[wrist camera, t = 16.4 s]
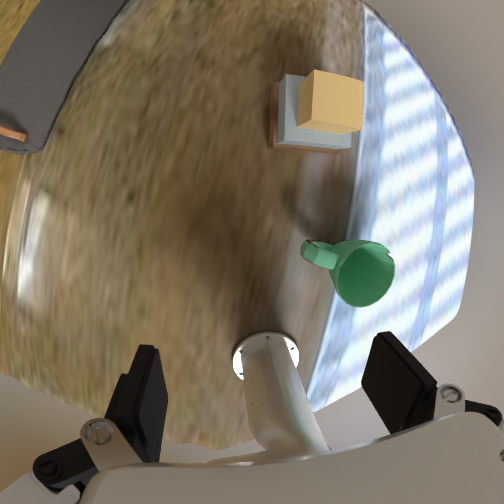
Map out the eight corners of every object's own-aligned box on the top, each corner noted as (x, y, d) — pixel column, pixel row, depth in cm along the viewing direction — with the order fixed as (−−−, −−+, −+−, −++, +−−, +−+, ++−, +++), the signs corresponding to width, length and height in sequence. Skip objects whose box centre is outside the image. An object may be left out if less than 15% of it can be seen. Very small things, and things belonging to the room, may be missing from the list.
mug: (373, 238, 47) (405, 255, 38) (351, 288, 49) (377, 313, 40) (301, 208, 44) (323, 219, 35) (279, 264, 47) (293, 289, 37)
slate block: (337, 149, 38) (350, 147, 34) (277, 143, 37) (284, 140, 33) (338, 92, 36) (351, 84, 31) (279, 83, 35) (286, 74, 30)
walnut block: (329, 154, 43) (340, 153, 38) (267, 149, 42) (273, 146, 37) (330, 96, 40) (341, 90, 36) (270, 88, 39) (275, 80, 34)
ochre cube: (341, 134, 33) (362, 129, 28) (296, 127, 33) (311, 119, 27) (343, 92, 32) (363, 81, 26) (299, 83, 31) (314, 69, 25)
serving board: (69, -24, 25) (58, -37, 19) (152, -16, 30) (146, -34, 24) (-20, 134, 33) (-38, 134, 27) (45, 168, 38) (25, 169, 32)
